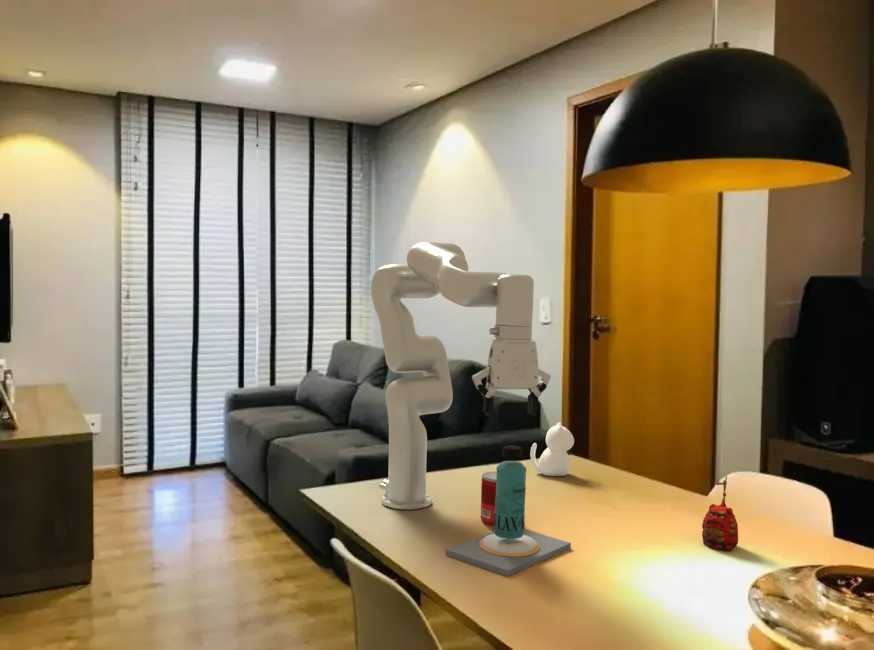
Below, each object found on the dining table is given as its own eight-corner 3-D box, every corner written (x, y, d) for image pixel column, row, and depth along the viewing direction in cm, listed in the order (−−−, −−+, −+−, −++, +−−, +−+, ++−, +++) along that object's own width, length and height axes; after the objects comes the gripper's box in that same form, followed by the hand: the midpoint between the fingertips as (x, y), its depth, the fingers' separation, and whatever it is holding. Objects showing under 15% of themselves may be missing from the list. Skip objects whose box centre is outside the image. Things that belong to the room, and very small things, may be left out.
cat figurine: (573, 479, 221) (575, 427, 220) (529, 477, 222) (531, 425, 221) (571, 471, 230) (573, 421, 229) (529, 469, 231) (531, 419, 230)
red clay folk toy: (696, 545, 168) (699, 477, 167) (709, 537, 173) (712, 472, 172) (731, 554, 163) (735, 484, 162) (743, 546, 168) (747, 478, 167)
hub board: (445, 554, 159) (445, 544, 159) (510, 530, 175) (510, 520, 175) (507, 576, 148) (508, 565, 148) (570, 548, 164) (571, 538, 164)
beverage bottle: (487, 541, 161) (489, 446, 160) (504, 533, 166) (507, 441, 165) (513, 548, 157) (516, 451, 156) (530, 540, 162) (533, 446, 161)
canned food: (512, 528, 177) (514, 480, 176) (478, 525, 178) (479, 478, 178) (516, 518, 184) (517, 472, 184) (482, 515, 186) (484, 470, 185)
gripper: (480, 335, 154) (477, 420, 156) (559, 335, 159) (555, 417, 161) (468, 331, 162) (465, 412, 163) (544, 332, 167) (540, 410, 168)
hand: (510, 415), depth 162 cm, fingers open, 9 cm apart
